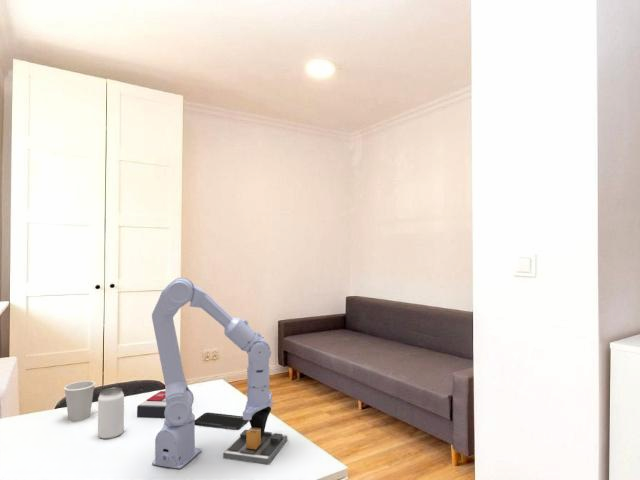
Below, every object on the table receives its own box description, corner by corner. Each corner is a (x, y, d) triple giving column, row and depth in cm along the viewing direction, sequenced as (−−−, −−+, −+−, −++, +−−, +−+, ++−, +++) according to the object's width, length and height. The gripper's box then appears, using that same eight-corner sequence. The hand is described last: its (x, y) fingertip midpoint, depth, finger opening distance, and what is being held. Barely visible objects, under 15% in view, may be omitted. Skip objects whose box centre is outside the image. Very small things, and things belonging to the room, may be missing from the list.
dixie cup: (84, 423, 122) (85, 389, 122) (57, 423, 122) (57, 389, 122) (100, 412, 130) (100, 380, 131) (74, 412, 131) (74, 380, 131)
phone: (206, 412, 128) (250, 417, 124) (206, 415, 128) (250, 420, 124) (191, 422, 121) (238, 428, 117) (191, 426, 121) (238, 432, 117)
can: (113, 440, 111) (113, 395, 111) (92, 438, 112) (92, 394, 113) (128, 430, 117) (129, 387, 118) (108, 428, 119) (109, 386, 119)
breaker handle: (256, 449, 102) (256, 432, 103) (246, 448, 103) (246, 431, 103) (260, 443, 105) (260, 427, 105) (251, 442, 106) (251, 426, 106)
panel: (268, 464, 98) (268, 454, 98) (223, 458, 101) (223, 448, 101) (287, 440, 111) (287, 431, 111) (246, 435, 114) (246, 426, 114)
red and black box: (190, 390, 141) (170, 404, 126) (190, 403, 140) (170, 419, 125) (160, 389, 142) (136, 403, 127) (159, 402, 141) (136, 418, 126)
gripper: (261, 395, 99) (261, 452, 99) (282, 377, 113) (282, 427, 113) (235, 392, 101) (235, 448, 101) (258, 375, 115) (258, 424, 115)
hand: (258, 437), depth 107 cm, fingers closed
